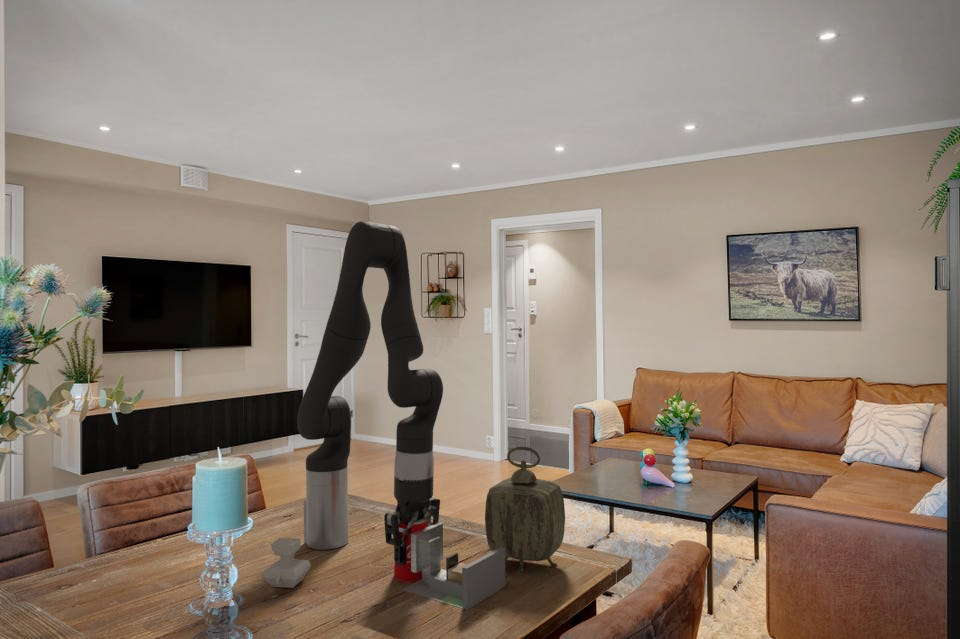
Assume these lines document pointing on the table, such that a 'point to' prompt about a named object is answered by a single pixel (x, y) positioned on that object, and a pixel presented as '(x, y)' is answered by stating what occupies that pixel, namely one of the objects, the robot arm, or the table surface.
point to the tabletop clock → (525, 515)
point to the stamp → (286, 564)
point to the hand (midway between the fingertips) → (412, 558)
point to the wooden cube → (456, 573)
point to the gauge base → (467, 582)
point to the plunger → (430, 553)
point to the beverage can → (409, 555)
